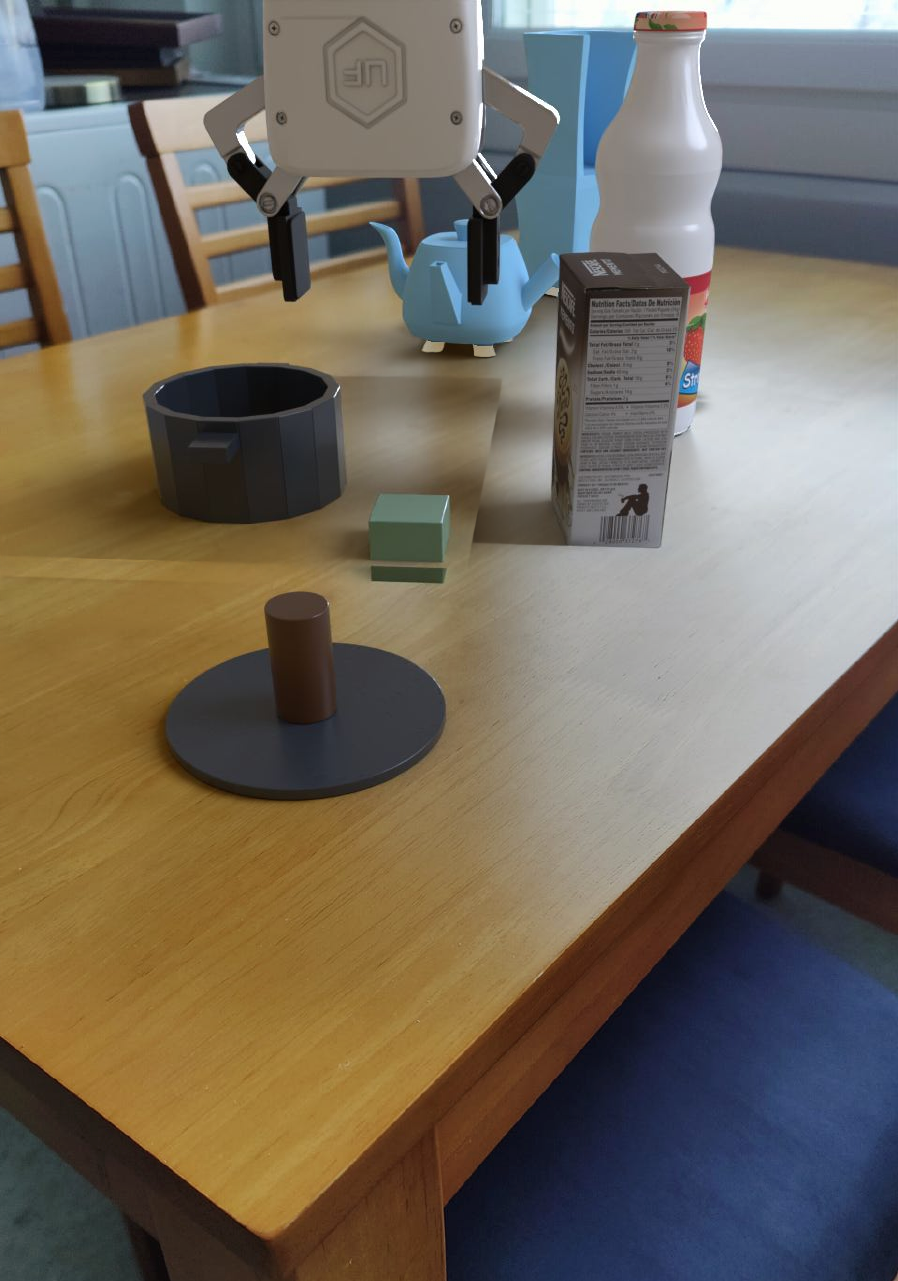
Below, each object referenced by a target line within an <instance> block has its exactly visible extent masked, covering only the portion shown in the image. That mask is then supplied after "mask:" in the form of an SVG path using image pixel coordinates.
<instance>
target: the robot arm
mask: <svg viewBox="0 0 898 1281" xmlns="http://www.w3.org/2000/svg"><path fill="white" fill-rule="evenodd" d="M483 32H484V31H483V16H482V4H481V0H262V55H263V56H262V58H263V73H262V74H261V75H259V76H258V77H256V78H255V79H253V80H252V81H250V82H249V83H247V84H246V85H245V86H243V87H242V88H240V89H239V90H237V91H236V92H234V93H232V95H230V96H228V97H227V98H225V99H224V100H222V101H221V102H219V103H217V105H215V106H213V107H212V108H210V109H209V110H208V111H207V112H205V114H204V115H203V122H202V123H203V126H204V129H205V130H206V132H207V134H208V135H209V138H210V140H211V141H212V143H213V145H214V147H215V148H216V150H217V152H218V154H219V156H220V157H221V159H222V160H223V161H224V162H225V163H224V164H225V165H226V170H227V172H228V176H230V178H231V179H232V180H233V181H234V182H235V183H237V185H238V186H239V187H240V188H241V189H242V190H243V191H244V192H245V193H246V194H247V195H248V196H249V197H250V198H251V199H252V200H253V202H254V203H256V207H257V209H258V212H260V213H261V215H263V216H264V217H266V222H267V231H268V232H267V234H268V241H269V242H268V243H269V253H270V262H271V273H272V277H273V279H274V281H275V282H281V285H282V286H281V287H282V296H283V300H284V302H285V303H296V302H297V301H298V300H300V299H301V298H303V296H304V295H306V293H307V292H308V291H310V290H311V287H312V282H311V280H312V279H311V268H310V266H311V265H310V255H309V243H308V231H307V219H306V212H305V211H304V210H303V209H302V206H298V198H297V196H298V195H299V193H300V191H301V190H302V188H303V187H304V186H305V184H306V183H307V181H308V179H309V178H334V179H335V178H339V179H340V178H342V179H343V178H346V179H347V178H348V179H349V178H350V179H351V178H352V179H363V178H364V179H373V178H374V179H429V178H430V179H433V178H446V177H450V176H451V177H452V178H453V180H454V181H455V183H456V184H457V185H458V187H459V188H460V189H461V190H462V191H463V193H464V194H465V196H466V197H467V199H468V200H469V202H471V204H472V215H471V216H470V217H469V220H468V222H467V300H468V303H471V305H480V306H481V305H482V304H483V302H484V300H485V298H486V296H487V293H488V284H493V285H497V284H498V283H499V276H500V234H501V213H502V211H503V210H504V209H505V208H506V207H507V206H508V205H509V204H510V202H511V201H513V199H515V196H516V195H517V194H518V192H519V191H520V190H521V189H522V188H523V187H524V186H525V185H526V184H527V183H528V182H529V180H530V179H531V178H532V177H533V175H534V173H535V172H536V169H537V167H538V165H539V163H540V161H541V159H542V157H543V155H544V153H545V151H546V149H547V147H548V145H549V143H550V141H551V138H552V136H553V134H554V132H555V130H556V128H557V126H558V123H559V114H558V112H557V111H556V110H555V109H554V108H552V107H551V106H549V105H548V104H546V103H544V102H543V101H541V100H539V99H538V98H536V97H534V96H533V95H531V94H530V93H529V91H526V90H525V89H524V88H521V87H520V86H518V85H517V84H515V83H513V82H512V81H510V80H508V79H507V78H505V77H503V76H502V75H501V74H499V73H497V72H495V71H494V70H492V69H490V68H489V67H488V66H485V52H484V51H485V50H484V48H485V47H484V33H483ZM487 107H489V108H491V109H492V110H494V111H496V112H497V113H499V114H501V115H502V116H504V117H506V118H507V119H509V120H511V121H512V122H514V123H516V124H517V125H518V126H519V127H520V128H521V130H522V137H523V138H522V137H521V140H522V141H521V140H520V143H519V145H518V148H517V150H516V152H515V154H514V156H513V158H512V159H510V161H509V163H507V165H506V166H505V167H504V168H503V169H502V170H501V171H500V172H499V174H498V175H496V173H495V172H494V170H493V169H492V168H491V166H490V165H489V164H488V163H487V161H486V159H485V158H484V157H483V155H482V154H481V153H482V152H483V149H484V144H485V139H486V124H487ZM263 112H265V113H264V114H265V124H266V126H265V127H266V136H267V143H268V148H269V153H270V157H271V159H272V161H273V163H274V164H275V165H276V166H275V168H274V169H273V170H271V169H270V168H269V167H268V166H267V165H266V164H265V162H264V161H262V159H261V158H260V157H259V156H258V154H256V153H255V152H254V151H252V149H251V147H250V145H249V144H248V143H249V141H248V140H247V138H246V136H245V131H244V129H245V126H246V124H247V123H248V122H250V121H251V120H253V119H254V118H255V117H257V116H258V115H260V114H261V113H263Z"/></svg>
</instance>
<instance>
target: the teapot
mask: <svg viewBox="0 0 898 1281" xmlns="http://www.w3.org/2000/svg"><path fill="white" fill-rule="evenodd" d="M469 219H470V218H469ZM469 219H467V218H465V219H457V220H455V221H454V222H453V226H454V227H453V228H454V229H455V231H443V232H438V233H433V234H431V235H429V236H427V237H425V238H424V239H422V240H421V242H419V243H418V246H417V248H416V251H415V253H414V256H413V259H412V261H411V264H410V266H408V265H407V262H406V261H405V258H404V255H403V250H402V245H401V242H400V238H399V236H398V234H397V233H396V231H395V230H394V229H393V228H392V227H390V226H388V225H386V224H384V223H383V224H382V223H379V222H375V221H369V225H371V227H372V228H373V229H375V230H376V231H377V232H378V233H379V235H380V237H381V238H382V240H383V242H384V245H385V249H386V255H387V256H386V257H387V265H388V274H389V279H390V283H391V287H392V288H393V291H394V293H395V294H396V295H397V297H398V298H399V299H400V300H401V301H402V306H401V307H402V310H401V312H402V313H401V314H402V316H401V317H402V320H403V323H404V324H405V326H406V328H407V329H408V331H409V332H410V334H411V335H412V336H413V337H415V338H417V339H421V340H425V341H426V340H428V341H431V342H446V343H445V344H447V343H448V344H461V345H463V344H464V345H473V344H474V345H477V346H492V345H494V344H501V343H500V342H504V341H507V340H509V339H511V338H512V339H513V338H515V337H516V336H518V335H519V334H520V333H521V331H522V330H523V329H524V328H525V326H526V324H527V322H528V321H529V319H530V316H531V314H532V310H533V306H534V305H535V304H536V303H537V302H538V301H539V300H540V299H541V298H542V297H543V296H544V294H545V293H546V292H547V291H548V290H549V289H550V288H551V286H552V285H553V284H554V283H555V282H556V281H557V280H558V279H559V265H560V260H559V256H558V255H557V254H554V253H552V254H551V255H550V256H549V258H548V259H547V260H546V261H545V262H544V263H543V264H542V266H541V267H540V268H539V269H538V270H537V271H536V272H535V274H534V275H533V276H532V277H531V278H530V279H529V277H528V273H527V270H526V266H525V263H524V261H523V258H522V255H521V253H520V250H519V247H518V243H517V241H516V239H515V237H513V236H512V235H510V234H503V233H500V276H499V283H498V284H497V285H493V284H488V293H487V296H486V298H485V300H484V302H483V304H482V305H481V306H480V305H471V303H468V300H467V222H468V220H469Z"/></svg>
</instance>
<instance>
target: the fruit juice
mask: <svg viewBox="0 0 898 1281" xmlns="http://www.w3.org/2000/svg"><path fill="white" fill-rule="evenodd" d="M707 30H708V13H707V11H702V10H649V11H648V10H647V11H639V12H636V14H635V17H634V23H633V31H635V32H634V41H636V43H637V56H636V62H635V67H634V71H633V75H632V78H631V82H630V85H629V88H628V91H627V94H626V96H625V99H624V101H623V104H622V106H621V108H620V110H619V112H618V113H617V115H616V116H615V118H614V119H613V120H612V122H611V123H610V124H609V126H608V127H607V129H606V130H605V132H604V134H603V135H602V137H601V139H600V142H599V145H598V149H597V154H596V163H595V172H596V180H597V185H598V191H599V196H600V202H599V209H598V213H597V215H596V217H595V220H594V222H593V225H592V229H591V234H590V242H589V251H588V252H617V253H626V254H639V253H657V254H658V255H659V256H660V257H661V258H662V259H663V260H664V261H665V262H666V263H667V264H668V265H669V266H670V267H671V268H672V269H673V270H674V271H675V272H676V273H677V274H678V275H679V276H681V277H682V278H683V279H684V280H685V281H686V282H687V283H688V284H689V285H690V286H691V289H690V297H689V306H688V316H687V325H686V334H685V343H684V352H683V361H682V370H681V379H680V387H679V396H678V405H677V413H676V422H675V431H674V433H677V432H681V431H683V430H685V429H687V428H688V427H689V426H690V425H691V426H692V424H693V421H694V417H695V414H696V408H697V398H698V390H699V381H700V375H701V374H700V372H701V365H702V358H703V357H702V356H703V355H702V354H703V348H704V347H703V346H704V338H705V330H706V321H707V312H708V305H709V304H708V303H709V294H710V286H711V277H712V272H713V271H712V270H713V264H714V254H715V224H714V220H713V217H712V209H711V206H712V200H713V197H714V193H715V190H716V188H717V185H718V182H719V179H720V176H721V172H722V169H723V153H724V152H723V144H722V138H721V135H720V132H719V131H718V129H717V127H716V125H715V124H714V122H713V120H712V118H711V117H710V114H709V113H708V110H707V107H706V104H705V100H704V94H703V88H702V80H701V74H700V50H701V49H700V48H701V44H702V42H704V41H705V39H706V36H705V35H706V33H707V32H706V31H707ZM691 426H690V427H691Z"/></svg>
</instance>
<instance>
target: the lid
mask: <svg viewBox="0 0 898 1281" xmlns="http://www.w3.org/2000/svg"><path fill="white" fill-rule="evenodd" d="M263 612H264V619H265V621H264V622H265V629H266V637H267V645H268V646H267V647H265V648H261V649H258V650H257V649H256V650H253V651H250V652H247V653H244V654H240V655H238V656H234V657H232V658H230V659H227V660H224V661H222V662H220V663H218V664H216V665H214V666H212V667H211V668H209V669H207V670H205V671H203V672H202V673H200V674H199V675H197V676H196V677H195V678H193V679H192V680H191V681H189V682H188V683H187V684H186V685H185V686H184V687H183V688H182V689H181V690H180V691H179V692H178V693H177V695H176V696H175V697H174V699H173V701H172V702H171V704H170V706H169V709H168V711H167V713H166V718H165V735H166V740H167V744H168V746H169V750H170V752H171V753H172V755H173V756H174V758H175V760H176V761H177V763H179V764H180V766H181V767H182V768H184V770H185V771H187V772H188V773H189V774H191V775H192V776H193V777H195V778H197V779H199V780H200V781H202V782H204V783H206V784H207V785H210V786H212V787H215V788H217V789H219V790H222V791H226V792H229V793H233V794H235V795H236V794H237V795H241V796H246V797H250V798H251V797H252V798H257V799H266V800H279V801H281V800H282V801H285V800H287V801H288V800H289V801H290V800H291V801H292V800H293V801H297V800H298V801H300V800H315V799H316V800H317V799H322V798H331V797H337V796H341V795H346V794H351V793H356V792H358V791H359V792H360V791H362V790H365V789H368V788H369V789H370V788H372V787H374V786H375V787H376V786H378V785H380V784H382V783H384V782H387V781H389V780H392V779H393V778H396V777H397V776H399V775H401V774H403V773H405V772H407V771H408V770H409V769H411V768H413V767H414V766H415V765H417V764H419V762H421V761H422V760H423V759H424V758H425V757H426V756H428V754H430V752H431V751H432V750H433V749H434V748H435V746H436V745H437V744H438V742H439V740H440V738H441V737H442V735H443V733H444V729H445V726H446V721H447V703H446V700H445V699H446V698H445V695H444V692H443V690H442V688H441V686H440V685H439V683H438V682H437V680H436V679H435V678H434V677H433V676H432V675H431V674H430V673H429V672H428V671H427V670H425V668H423V667H421V666H420V665H418V664H417V663H415V662H413V661H412V660H409V659H407V658H406V657H403V656H401V655H398V654H396V653H394V652H391V651H387V650H385V649H380V648H377V647H373V646H368V645H361V644H355V643H347V642H333V636H332V623H331V611H330V603H329V600H328V598H326V597H325V596H324V595H321V594H319V593H316V592H311V591H304V590H303V591H301V590H298V591H289V592H283V593H280V594H277V595H275V596H273V597H272V598H270V599H268V600H267V601H266V603H265V604H264V607H263Z"/></svg>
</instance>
